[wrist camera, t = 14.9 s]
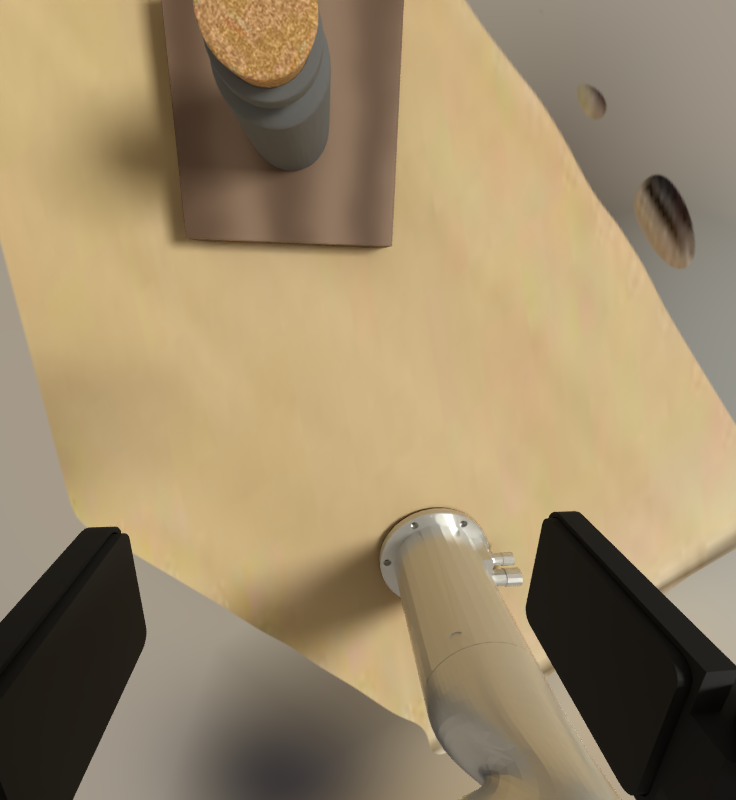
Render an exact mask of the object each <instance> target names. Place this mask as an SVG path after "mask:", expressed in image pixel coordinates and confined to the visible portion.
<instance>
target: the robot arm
mask: <svg viewBox="0 0 736 800" xmlns="http://www.w3.org/2000/svg"><path fill="white" fill-rule="evenodd" d="M379 562H380V569H381V573H382V577H383V579H384V581H385V583H386V585H387V586H388V587H389V588H390V589H391V591H392V592H394V593H395V594H396V595H398V596H399V597H401V600H402V605H403V609H404V613H405V618H406V622H407V627H408V631H409V635H410V640H411V644H412V648H413V653H414V657H415V662H416V666H417V670H418V675H419V679H420V683H421V688H422V692H423V697H424V701H425V705H426V709H427V713H428V717H429V721H430V724H431V727H432V729H433V731H434V734H435V736H436V738H437V739H438V741H439V743H440V744H441V746H442V747H443V749H444V750H445V752H446V753H447V754H448V755H449V756H450V757H451V759H452V760H453V761H454V762H455V763H456V764H457V765H458V766H459V767H460V768H462V769H463V770H464V771H465V772H466V773H467V774H468V775H470V776H471V777H472V778H473V779H474V780H475V781H477V782H478V783H479V784H480V785H481V786H482V787H480V788H479V789H478V790H476V791H474V792H471V793H469V794H467V795H465V796H463V797H462V799H459V800H621V798H620V797H619V795H618V794H617V792H616V791H615V789H614V788H613V787H612V785H611V784H610V782H609V781H608V779H607V778H606V777H605V775H604V774H603V773H602V771H601V769H600V768H599V766H598V765H597V764H596V762H595V761H594V759H593V758H592V756H591V755H590V753H589V751H588V750H587V748H586V747H585V745H584V744H583V742H582V741H581V739H580V737H579V736H578V734H577V732H576V731H575V729H574V727H573V726H572V724H571V722H570V721H569V719H568V718H567V716H566V714H565V712H564V711H563V709H562V707H561V705H560V704H559V702H558V700H557V698H556V696H555V694H554V693H553V691H552V689H551V688H550V685H549V684H548V682H547V680H546V678H545V676H544V674H543V672H542V670H541V669H540V667H539V665H538V663H537V661H536V659H535V658H534V656H533V654H532V652H531V650H530V648H529V646H528V644H527V642H526V641H525V639H524V637H523V635H522V633H521V631H520V629H519V627H518V625H517V624H516V622H515V620H514V618H513V616H512V614H511V612H510V610H509V609H508V607H507V605H506V603H505V601H504V599H503V597H502V595H501V593H500V592H499V590H498V588H497V586H505V587H509V586H521V585H522V582H523V578H522V573H521V571H520V569H519V568H502V569H495V570H493V568H494V566H495V565H501V566H508V565H514V556H513V554H512V553H511V552H504V553H496V554H493V553H492V552H491V551H489V545H488V541H487V538H486V536H485V534H484V532H483V530H482V529H481V527H480V526H479V525H478V523H477V522H476V521H475V520H473V519H472V518H471V517H470V516H468V515H466V514H464V513H463V512H460V511H457V510H453V509H446V508H433V509H428V510H423V511H420V512H417V513H414V514H412V515H410V516H408V517H407V518H405V519H403V520H402V521H401V522H399V523H398V524H397V525H396V526H394V528H393V529H392V530H391V531H390V532H389V533H388V535H387V536H386V538H385V540H384V542H383V544H382V547H381V550H380V557H379ZM526 615H527V619H528V622H529V624H530V626H531V628H532V630H533V631H534V633H535V635H536V637H537V638H538V640H539V642H540V644H541V645H542V647H543V649H544V651H545V652H546V654H547V656H548V658H549V660H550V661H551V663H552V665H553V667H554V668H555V670H556V672H557V674H558V675H559V677H560V679H561V681H562V683H563V684H564V686H565V688H566V690H567V691H568V693H569V695H570V697H571V698H572V700H573V702H574V704H575V706H576V707H577V709H578V711H579V712H580V714H581V716H582V718H583V720H584V721H585V723H586V725H587V727H588V729H589V730H590V732H591V734H592V735H593V737H594V739H595V741H596V743H597V744H598V746H599V748H600V750H601V752H602V753H603V755H604V757H605V759H606V760H607V762H608V764H609V766H610V767H611V769H612V771H613V773H614V774H615V776H616V778H617V780H618V782H619V783H620V785H621V786H622V788H623V789H624V790H625V791H626V792H627V793H628V794H630V795H634V797H635V799H636V800H736V665H735V664H734V663H733V662H731V661H730V659H729V658H727V657H726V656H725V655H724V654H723V653H722V652H721V651H720V650H719V649H718V648H717V647H716V646H715V645H714V644H713V643H712V642H711V641H710V640H709V639H708V638H707V637H706V636H705V635H704V634H703V633H702V632H701V631H700V630H699V629H698V628H697V627H696V626H695V625H694V624H693V623H692V622H691V621H690V620H689V619H688V618H687V617H686V616H685V615H684V614H683V613H682V612H681V611H680V610H679V609H678V608H677V607H676V606H675V605H674V604H673V603H671V601H669V600H668V598H666V597H665V596H664V595H663V594H662V593H661V592H660V591H659V590H658V589H657V588H656V587H655V586H654V585H653V584H652V583H651V582H650V581H649V580H648V579H647V578H646V577H645V576H644V575H643V574H642V573H641V572H640V571H639V570H638V569H637V568H636V567H635V566H634V565H633V564H632V563H631V562H630V561H629V560H628V559H627V558H626V557H625V556H624V555H623V554H622V553H621V552H620V551H619V550H618V549H617V548H616V547H615V546H614V545H613V544H612V543H611V542H610V541H609V540H607V539H606V538H605V537H604V536H603V535H602V534H601V533H600V532H599V531H598V530H597V529H596V528H595V527H594V526H593V525H592V524H591V523H590V522H589V521H588V520H587V519H586V518H585V517H584V516H583V515H582V514H581V513H579V512H576V511H569V512H553V513H551V514H550V516H549V518H548V519H545V520H544V521H543V524H542V528H541V533H540V538H539V543H538V548H537V553H536V558H535V563H534V568H533V573H532V578H531V583H530V588H529V593H528V598H527V603H526ZM145 640H146V625H145V619H144V614H143V608H142V603H141V598H140V592H139V587H138V582H137V576H136V571H135V566H134V560H133V555H132V549H131V544H130V539H129V536H128V535H127V534H125V533H122V534H121V530H120V529H119V528H118V527H91V528H86V529H84V530H83V531H82V532H81V533H80V534H79V535H78V536H77V537H76V538H75V540H74V541H73V542H72V543H71V544H70V545H69V546H68V547H67V548H66V550H65V551H64V552H63V553H62V554H61V555H60V556H59V557H58V559H57V560H56V561H55V562H54V563H53V564H52V565H51V566H50V568H49V569H48V570H47V571H46V572H45V573H44V574H43V575H42V577H41V578H40V579H39V580H38V581H37V582H36V583H35V584H34V585H33V587H32V588H31V589H30V590H29V591H28V592H27V593H26V594H25V595H24V597H23V598H22V599H21V600H20V601H19V602H18V603H17V604H16V606H15V607H14V608H13V609H12V610H11V611H10V612H9V613H8V614H7V616H6V617H5V618H4V619H3V620H2V621H1V622H0V800H73V798H74V796H75V793H76V791H77V789H78V787H79V785H80V783H81V781H82V778H83V776H84V774H85V772H86V770H87V768H88V765H89V763H90V761H91V759H92V757H93V755H94V753H95V751H96V748H97V746H98V744H99V742H100V740H101V738H102V735H103V733H104V731H105V729H106V727H107V725H108V723H109V721H110V718H111V716H112V714H113V712H114V710H115V708H116V706H117V703H118V701H119V699H120V697H121V695H122V693H123V690H124V688H125V686H126V684H127V682H128V680H129V678H130V675H131V673H132V671H133V669H134V667H135V664H136V663H137V660H138V658H139V656H140V654H141V652H142V649H143V647H144V644H145Z"/></svg>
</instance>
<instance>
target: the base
mask: <svg viewBox="0 0 736 800" xmlns="http://www.w3.org/2000/svg"><path fill="white" fill-rule="evenodd" d="M317 2H318V9H319V12H320V16H321V20H322V26H323V31H324V34H325V37H326V40H327V43H328V48H329V53H330V63H331V89H330V121H329V134H328V139H327V143H326V146H325V149H324V151H323V152H322V154H321V156H320V157H319V158H318V159H317V160H316V161H315V162H314V163H313V164H312V165H310V166H309V167H307V168H304V169H301V170H296V171H287V170H282V169H279V168H277V167H275V166H273V165H271V164H270V163H268V162H267V161H266V160H265V159H264V158H262V156H261V155H260V154H259V153H258V152H257V150H256V149H255V148H254V146H253V145H252V143H251V141H250V140H249V138H248V137H247V135H246V134H245V132H244V130H243V129H242V127H241V126H240V124H239V123H238V121H237V119H236V118H235V116H234V115H233V113H232V111H231V110H230V108H229V106H228V105H227V103H226V102H225V100H224V98H223V96H222V94H221V92H220V90H219V88H218V86H217V84H216V81H215V78H214V76H213V72H212V68H211V63H210V58H209V56H208V53H207V51H206V48H205V45H204V40H203V37H202V35H201V32H200V30H199V27H198V24H197V21H196V17H195V13H194V7H193V0H162V9H163V19H164V29H165V38H166V48H167V58H168V67H169V77H170V87H171V96H172V106H173V116H174V125H175V135H176V145H177V155H178V164H179V174H180V184H181V193H182V203H183V213H184V222H185V232H186V238H189V239H195V240H214V241H240V242H265V243H291V244H317V245H343V246H369V247H390V246H392V235H393V214H394V193H395V173H396V152H397V131H398V111H399V90H400V69H401V49H402V28H403V7H404V0H317Z"/></svg>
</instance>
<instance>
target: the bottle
mask: <svg viewBox="0 0 736 800" xmlns="http://www.w3.org/2000/svg"><path fill="white" fill-rule="evenodd" d="M193 7H194V13H195V17H196V21H197V24H198V27H199V30H200V32H201V35H202V37H203V40H204V45H205V48H206V51H207V53H208V56H209V58H210V63H211V68H212V72H213V76H214V78H215V81H216V84H217V86H218V88H219V90H220V92H221V94H222V96H223V98H224V100H225V102H226V103H227V105H228V106H229V108H230V110H231V111H232V113H233V115H234V116H235V118H236V119H237V121H238V123H239V124H240V126H241V127H242V129H243V130H244V132H245V134H246V135H247V137H248V138H249V140H250V141H251V143H252V145H253V146H254V148H255V149H256V150H257V152H258V153H259V154H260V155H261V156H262V158H264V159H265V160H266V161H267V162H268V163H270V164H271V165H273V166H275V167H277V168H279V169H282V170H287V171H296V170H301V169H304V168H307V167H309V166H310V165H312V164H313V163H314V162H315V161H316V160H317V159H318V158H319V157H320V156H321V154H322V152H323V151H324V149H325V146H326V143H327V139H328V134H329V121H330V89H331V63H330V53H329V48H328V43H327V40H326V37H325V34H324V31H323V26H322V20H321V16H320V12H319V9H318V2H317V0H193Z"/></svg>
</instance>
